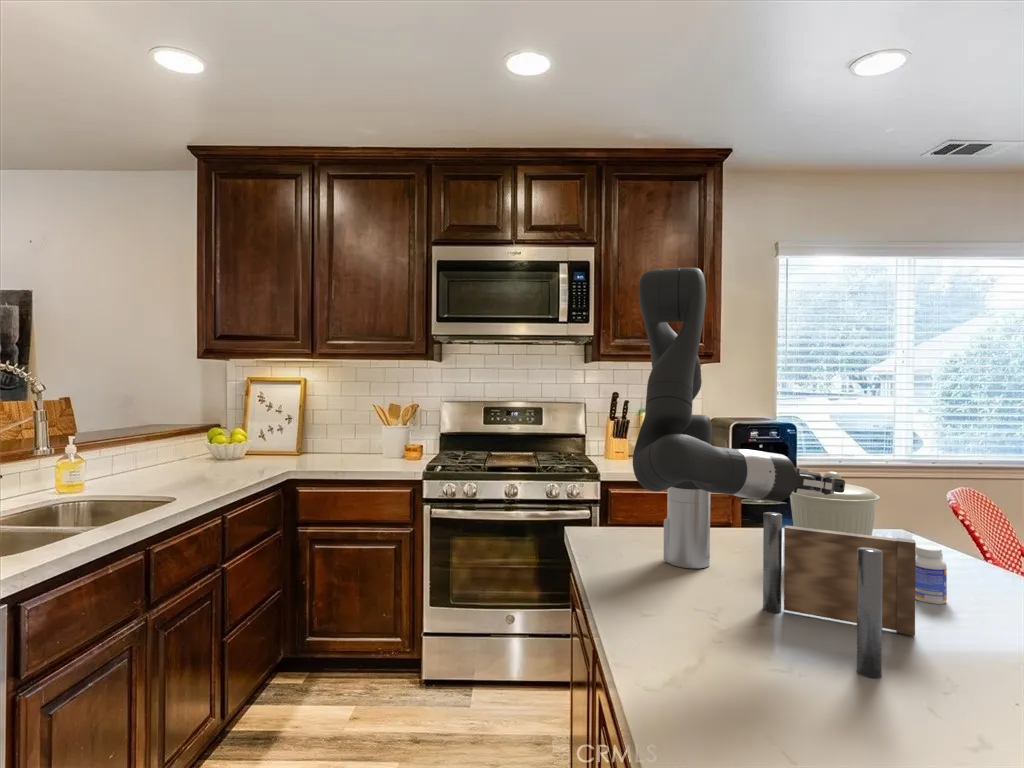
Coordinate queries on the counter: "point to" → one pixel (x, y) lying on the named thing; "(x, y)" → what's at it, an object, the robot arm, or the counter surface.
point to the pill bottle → (930, 575)
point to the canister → (836, 509)
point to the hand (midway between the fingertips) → (840, 485)
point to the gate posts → (866, 593)
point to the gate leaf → (847, 575)
